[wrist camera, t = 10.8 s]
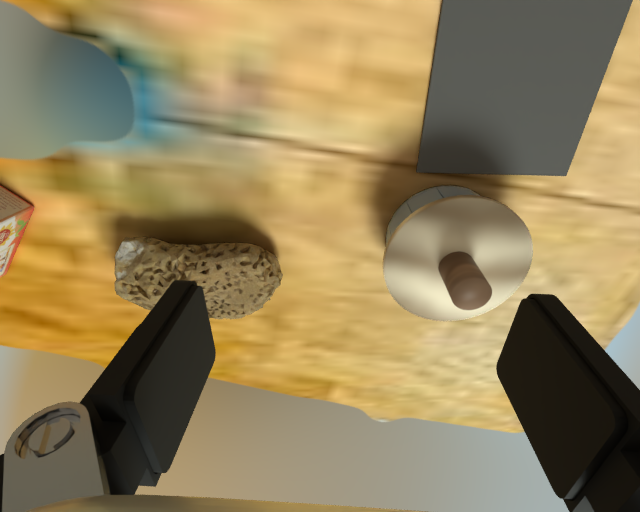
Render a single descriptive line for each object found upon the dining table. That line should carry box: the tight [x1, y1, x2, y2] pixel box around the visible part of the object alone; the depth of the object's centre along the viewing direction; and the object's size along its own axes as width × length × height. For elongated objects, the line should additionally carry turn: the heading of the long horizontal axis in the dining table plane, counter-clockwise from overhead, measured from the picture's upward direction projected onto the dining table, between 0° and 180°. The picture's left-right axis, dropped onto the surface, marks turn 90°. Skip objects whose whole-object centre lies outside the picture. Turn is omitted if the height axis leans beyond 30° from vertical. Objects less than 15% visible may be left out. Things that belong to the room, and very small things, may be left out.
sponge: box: [115, 237, 283, 319], centre depth 43 cm, size 13×8×20 cm
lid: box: [383, 195, 533, 321], centre depth 34 cm, size 15×15×6 cm
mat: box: [416, 0, 633, 176], centre depth 34 cm, size 16×16×1 cm
